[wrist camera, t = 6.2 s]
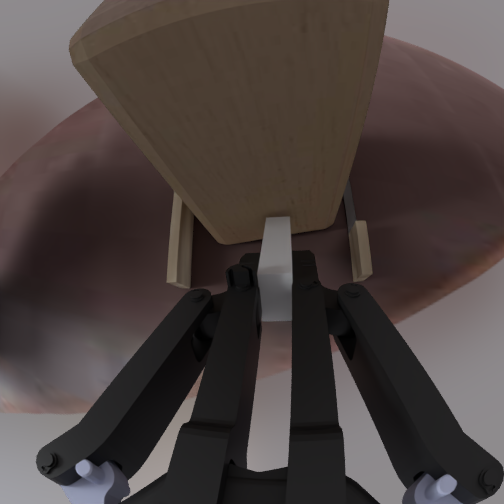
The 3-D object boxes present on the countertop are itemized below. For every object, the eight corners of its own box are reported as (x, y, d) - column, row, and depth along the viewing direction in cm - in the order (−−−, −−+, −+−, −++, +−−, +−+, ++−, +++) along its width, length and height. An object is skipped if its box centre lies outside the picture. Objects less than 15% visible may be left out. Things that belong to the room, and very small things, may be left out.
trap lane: (181, 288, 23) (154, 277, 18) (203, 81, 30) (192, 53, 25) (362, 281, 21) (380, 267, 16) (320, 70, 28) (321, 39, 23)
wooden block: (310, 137, 25) (305, -63, 6) (335, 230, 22) (406, -20, 3) (211, 155, 26) (123, -25, 7) (218, 250, 23) (46, 54, 4)
